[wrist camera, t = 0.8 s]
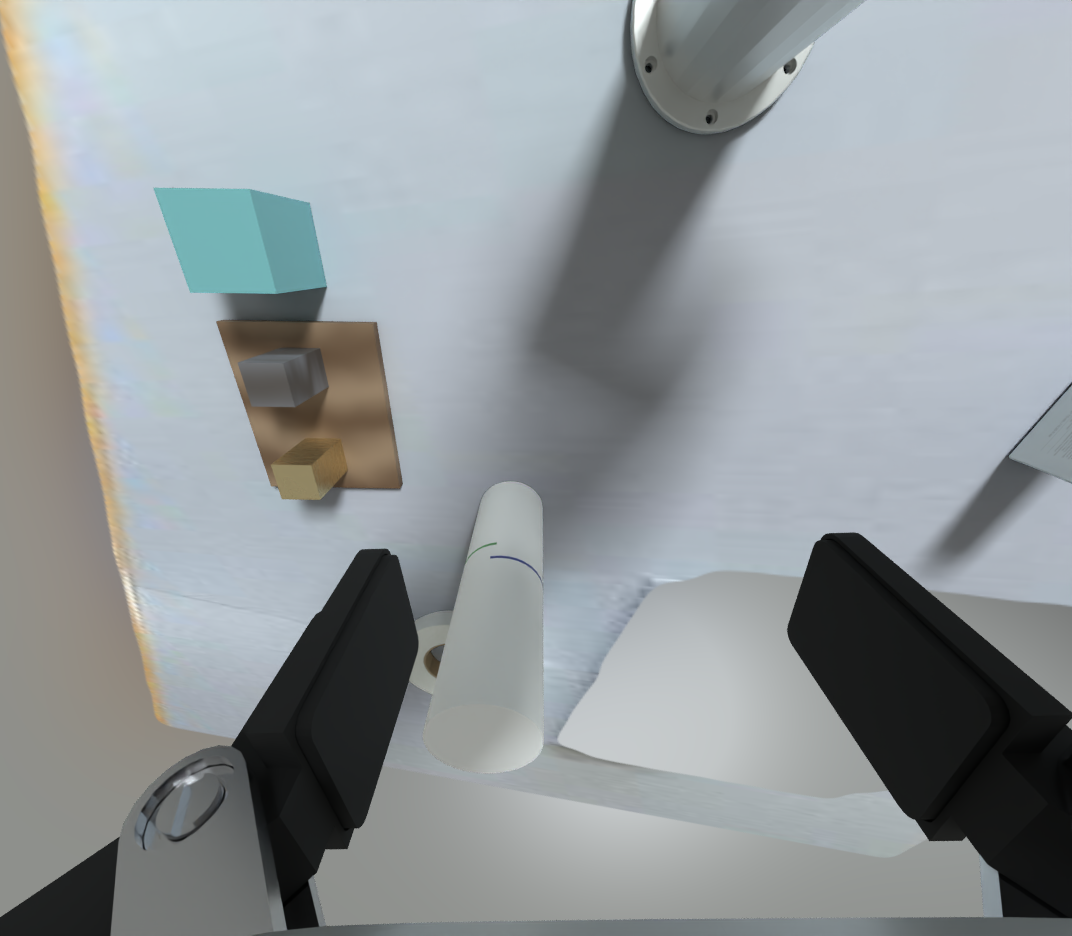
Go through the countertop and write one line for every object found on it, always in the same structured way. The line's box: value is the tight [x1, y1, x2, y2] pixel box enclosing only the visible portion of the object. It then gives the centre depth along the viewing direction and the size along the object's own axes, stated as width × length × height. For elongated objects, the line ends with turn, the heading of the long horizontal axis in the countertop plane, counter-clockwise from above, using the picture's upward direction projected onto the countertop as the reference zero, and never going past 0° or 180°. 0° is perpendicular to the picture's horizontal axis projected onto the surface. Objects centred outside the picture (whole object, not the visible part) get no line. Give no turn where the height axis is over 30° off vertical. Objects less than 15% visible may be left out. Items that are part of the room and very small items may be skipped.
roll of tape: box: [409, 610, 453, 694], centre depth 56 cm, size 16×15×3 cm
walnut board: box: [216, 320, 403, 488], centre depth 38 cm, size 17×14×7 cm
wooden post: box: [271, 438, 348, 500], centre depth 39 cm, size 4×4×6 cm
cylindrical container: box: [423, 481, 544, 774], centre depth 35 cm, size 7×7×25 cm
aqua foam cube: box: [154, 188, 327, 294], centre depth 31 cm, size 6×6×8 cm
